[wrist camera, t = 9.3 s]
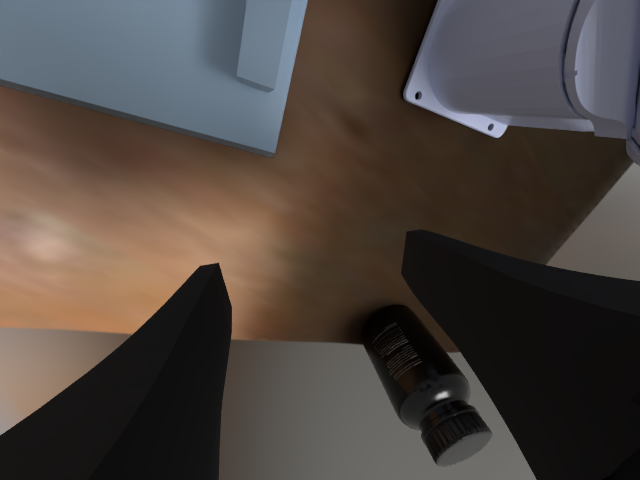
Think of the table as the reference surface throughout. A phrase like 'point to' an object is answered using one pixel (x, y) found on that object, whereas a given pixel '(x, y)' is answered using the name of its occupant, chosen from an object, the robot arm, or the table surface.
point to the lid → (161, 59)
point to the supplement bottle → (424, 385)
